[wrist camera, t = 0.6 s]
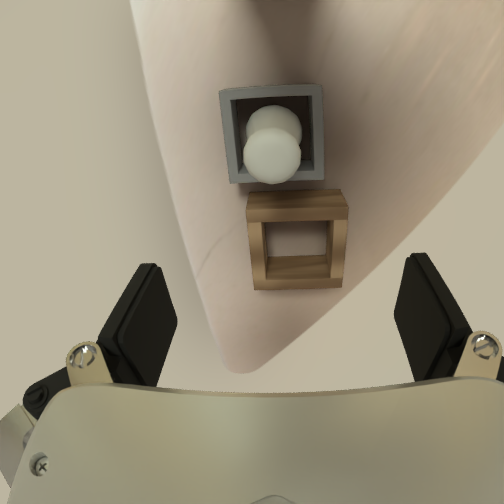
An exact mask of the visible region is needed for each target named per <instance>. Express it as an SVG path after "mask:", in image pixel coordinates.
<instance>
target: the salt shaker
mask: <svg viewBox="0 0 504 504" xmlns="http://www.w3.org/2000/svg"><path fill="white" fill-rule="evenodd" d="M246 138H247V143H246V145H245V147H244V157H243V161H244V164H245V166H246V168H247V170H248V172H249V174H250V175H252V176H253V177H254V178H255V179H257V180H258V181H259V182H264V183H268V184H277V183H283V182H285V181H286V180H288V179H289V178H291V177H292V176H293V175H294V174H295V172H296V170H297V169H298V167H299V165H300V160H301V150H300V148H299V143H300V142H301V140H302V126H301V124H300V121H299V119H298V116H297V115H295V114H294V113H293V112H292V111H290V110H289V109H288V108H285V107H282V106H278V105H270V106H265V107H262V108H260V109H259V110H257V111H256V112H254V113H253V114H252V115H251V117H250V119H249V121H248V123H247V125H246Z"/></svg>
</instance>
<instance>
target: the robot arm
mask: <svg viewBox="0 0 504 504" xmlns="http://www.w3.org/2000/svg"><path fill="white" fill-rule="evenodd" d="M394 319H395V322H396V325H397V328H398V330H399V333H400V336H401V339H402V342H403V345H404V348H405V351H406V354H407V358H408V361H409V364H410V367H411V371H412V374H413V377H414V380H415V382H411V383H404V384H396V385H388V386H379V387H371V388H362V389H350V390H336V391H321V392H301V393H300V392H298V393H235V392H233V393H232V392H211V391H195V390H181V389H171V388H159V387H156V386H157V383H158V380H159V377H160V374H161V371H162V368H163V365H164V362H165V359H166V356H167V353H168V350H169V347H170V344H171V341H172V338H173V336H174V333H175V330H176V327H177V316H176V313H175V310H174V307H173V304H172V301H171V298H170V295H169V292H168V288H167V285H166V282H165V279H164V276H163V272H162V269H161V268H160V267H157V265H156V264H155V263H146V264H145V263H144V264H140V266H139V267H138V269H137V270H136V272H135V274H134V275H133V277H132V279H131V280H130V282H129V284H128V285H127V287H126V289H125V290H124V292H123V294H122V296H121V297H120V299H119V300H118V302H117V304H116V306H115V307H114V309H113V311H112V312H111V314H110V316H109V318H108V319H107V321H106V323H105V325H104V327H103V328H102V330H101V332H100V334H99V336H98V340H97V342H96V343H94V342H90V341H88V342H82V343H79V344H78V345H76V346H74V347H73V348H72V349H71V350H70V352H69V353H68V355H67V357H66V367H64V368H62V369H61V370H59V371H57V372H55V373H53V374H51V375H49V376H48V377H46V378H44V379H42V380H40V381H38V382H36V383H34V384H33V385H31V386H30V387H29V388H28V389H27V390H26V392H25V394H24V397H23V405H22V406H20V404H18V405H17V406H15V407H14V408H13V409H12V410H11V411H10V412H9V413H8V414H7V415H6V416H4V417H3V418H2V419H1V420H0V470H1V472H2V474H3V476H4V478H5V479H6V481H7V483H8V485H9V486H10V488H11V491H10V495H9V498H8V502H7V504H504V357H503V356H502V346H501V343H500V342H499V340H498V339H497V338H496V337H495V336H494V335H492V334H490V333H489V332H485V331H476V332H473V331H472V329H471V328H470V326H469V324H468V322H467V320H466V318H465V317H464V315H463V313H462V311H461V309H460V307H459V306H458V304H457V302H456V300H455V299H454V297H453V295H452V294H451V292H450V290H449V288H448V287H447V285H446V284H445V282H444V280H443V279H442V277H441V275H440V274H439V272H438V271H437V269H436V267H435V266H434V264H433V263H432V261H431V260H430V258H429V257H428V255H427V254H426V253H412V254H411V255H410V257H407V258H406V261H405V266H404V271H403V276H402V280H401V285H400V289H399V294H398V297H397V302H396V305H395V310H394Z"/></svg>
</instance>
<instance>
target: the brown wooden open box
mask: <svg viewBox="0 0 504 504" xmlns="http://www.w3.org/2000/svg"><path fill="white" fill-rule="evenodd" d="M246 218H247V227H248V237H249V246H250V255H251V264H252V274H253V283H254V290H282V289H315V288H340V287H342V280H343V270H344V260H345V249H346V237H347V223H348V205H347V203H346V201H345V198H344V196H343V194H342V192H341V190H340V189H328V190H289V191H264V192H250V193H249V197H248V202H247V206H246ZM316 220H327V240H326V255H313V256H281V257H267V246H266V233H265V222H283V221H316Z"/></svg>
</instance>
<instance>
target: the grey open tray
mask: <svg viewBox="0 0 504 504" xmlns="http://www.w3.org/2000/svg"><path fill="white" fill-rule="evenodd" d="M307 95H308V100H309V121H310V149H311V160H300V165H299V167H298V169H297V170H296V172H295V174H294V175H293V176H292V177H291V178H289V179H288V180H286V181H295V180H324V123H323V97H322V85H318V84H289V85H267V86H253V87H241V88H231V89H224V90H221V91H219V98H220V106H221V115H222V123H223V132H224V140H225V149H226V157H227V165H228V173H229V181H230V184H233V183H250V182H259V181H258V180H257V179H255V178H254V177H253V176H252V175H250V174H249V172H248V170H247V168H246V166H245V164H244V163H242V154H241V145H240V135H239V126H238V116H237V107H236V99H246V98H259V97H276V96H307Z"/></svg>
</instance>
